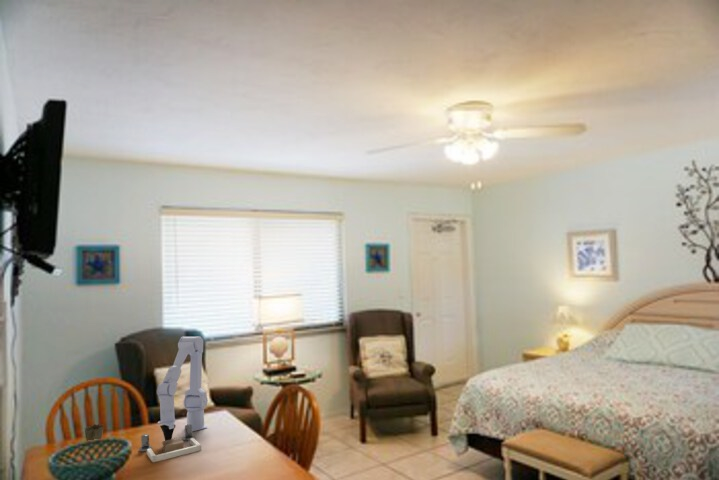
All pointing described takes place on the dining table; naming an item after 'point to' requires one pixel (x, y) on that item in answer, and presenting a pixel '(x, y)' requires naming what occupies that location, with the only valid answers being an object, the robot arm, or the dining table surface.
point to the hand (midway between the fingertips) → (168, 441)
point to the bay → (174, 452)
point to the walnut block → (173, 445)
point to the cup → (94, 432)
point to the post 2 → (188, 433)
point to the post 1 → (144, 443)
